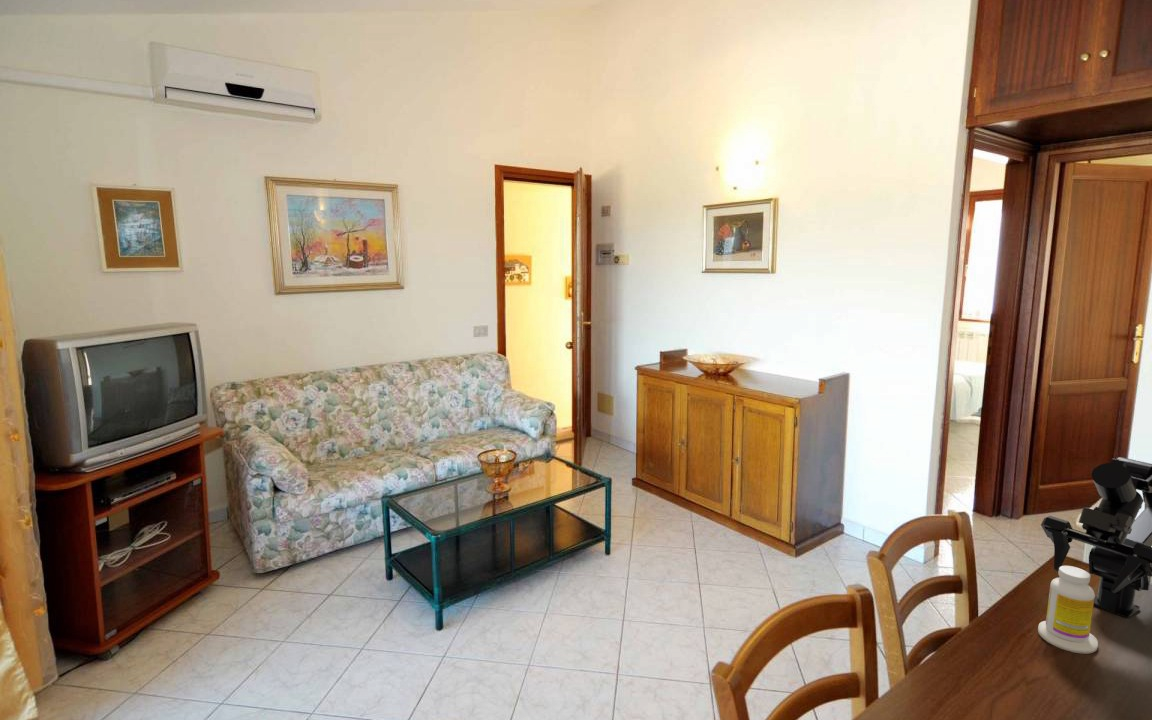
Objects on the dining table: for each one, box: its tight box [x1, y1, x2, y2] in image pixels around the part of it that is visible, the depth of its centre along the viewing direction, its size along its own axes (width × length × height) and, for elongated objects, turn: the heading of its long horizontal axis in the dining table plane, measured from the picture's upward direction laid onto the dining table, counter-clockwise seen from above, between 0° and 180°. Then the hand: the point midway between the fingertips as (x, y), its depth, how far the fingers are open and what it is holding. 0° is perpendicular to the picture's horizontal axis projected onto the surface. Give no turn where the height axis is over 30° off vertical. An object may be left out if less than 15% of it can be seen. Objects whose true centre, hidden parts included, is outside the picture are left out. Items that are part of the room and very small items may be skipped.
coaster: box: [1037, 620, 1099, 655], centre depth 119 cm, size 9×9×1 cm
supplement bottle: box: [1045, 565, 1096, 642], centre depth 118 cm, size 7×7×13 cm
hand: (1083, 580), depth 119 cm, fingers open, 9 cm apart
